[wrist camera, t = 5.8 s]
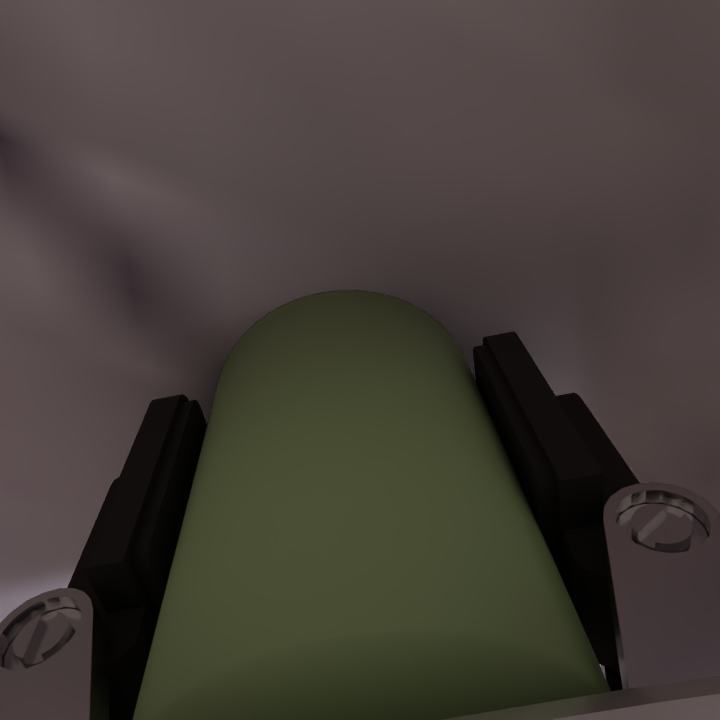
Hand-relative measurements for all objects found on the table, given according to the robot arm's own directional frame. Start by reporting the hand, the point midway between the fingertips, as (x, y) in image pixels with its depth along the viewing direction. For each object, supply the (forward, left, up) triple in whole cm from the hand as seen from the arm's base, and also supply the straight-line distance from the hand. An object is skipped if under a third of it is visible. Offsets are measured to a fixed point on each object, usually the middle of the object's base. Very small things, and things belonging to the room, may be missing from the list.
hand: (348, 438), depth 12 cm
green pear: (0, 0, -1) cm, 1 cm away
